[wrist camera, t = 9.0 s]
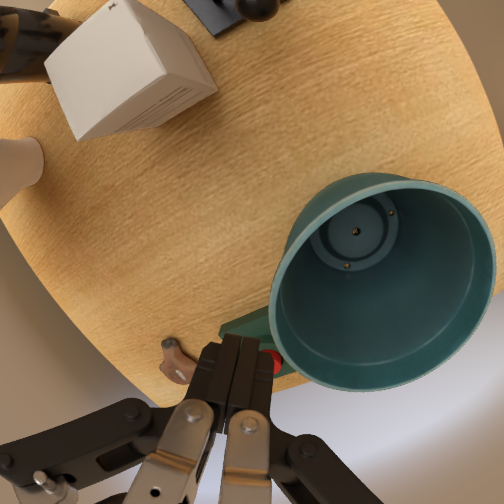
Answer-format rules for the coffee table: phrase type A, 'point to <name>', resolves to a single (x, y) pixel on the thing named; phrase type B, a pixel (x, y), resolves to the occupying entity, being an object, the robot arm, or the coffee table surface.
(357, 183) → the flower pot
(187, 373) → the oil lamp
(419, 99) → the coffee table surface
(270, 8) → the lever
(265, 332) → the button box
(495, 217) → the coffee table surface
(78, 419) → the robot arm
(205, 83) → the white product box
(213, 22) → the bracket
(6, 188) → the vase
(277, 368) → the button
